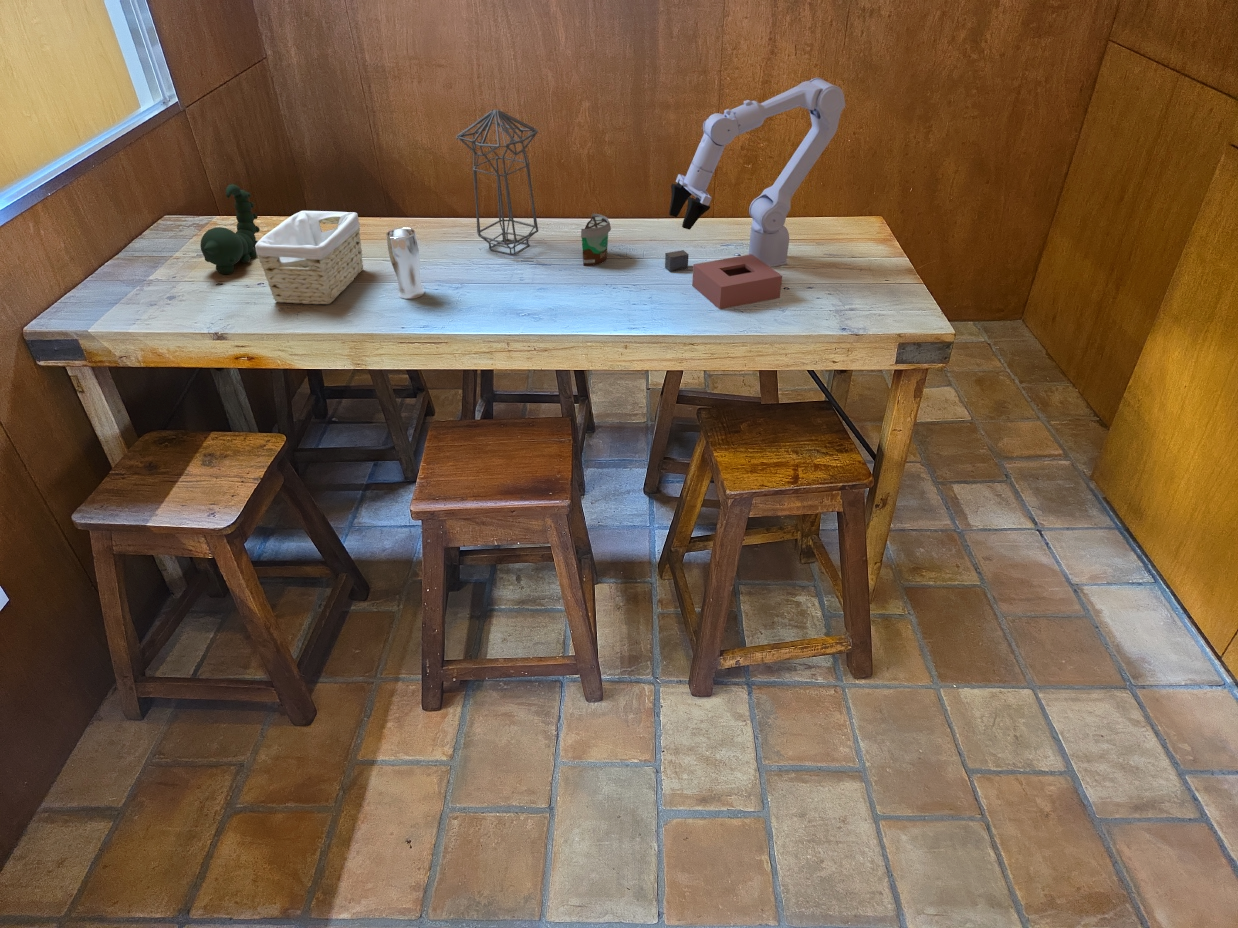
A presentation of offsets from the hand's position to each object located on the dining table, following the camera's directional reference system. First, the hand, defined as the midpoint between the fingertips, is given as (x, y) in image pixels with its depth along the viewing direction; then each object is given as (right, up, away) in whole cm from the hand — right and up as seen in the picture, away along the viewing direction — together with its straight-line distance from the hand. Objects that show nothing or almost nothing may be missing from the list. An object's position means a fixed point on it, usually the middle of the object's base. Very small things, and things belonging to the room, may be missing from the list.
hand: (679, 222), depth 191 cm
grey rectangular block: (0, -9, +9) cm, 13 cm away
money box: (+13, -18, -3) cm, 22 cm away
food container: (-20, -6, +13) cm, 25 cm away
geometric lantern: (-44, -2, +19) cm, 48 cm away
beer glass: (-64, -18, -3) cm, 67 cm away
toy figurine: (-113, -7, +12) cm, 114 cm away
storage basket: (-87, -15, +1) cm, 89 cm away
